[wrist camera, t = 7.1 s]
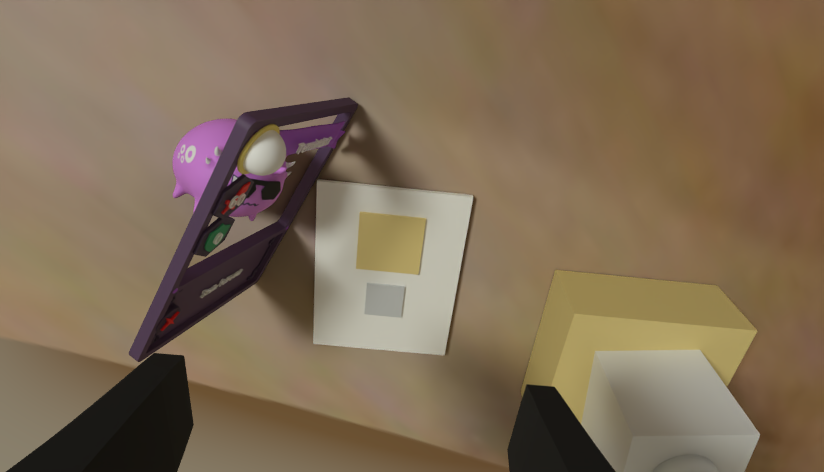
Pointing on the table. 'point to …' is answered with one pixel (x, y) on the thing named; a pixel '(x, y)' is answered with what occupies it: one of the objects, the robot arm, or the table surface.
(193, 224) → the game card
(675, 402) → the top brick
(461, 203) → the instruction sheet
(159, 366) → the robot arm
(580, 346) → the base brick
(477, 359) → the table surface
